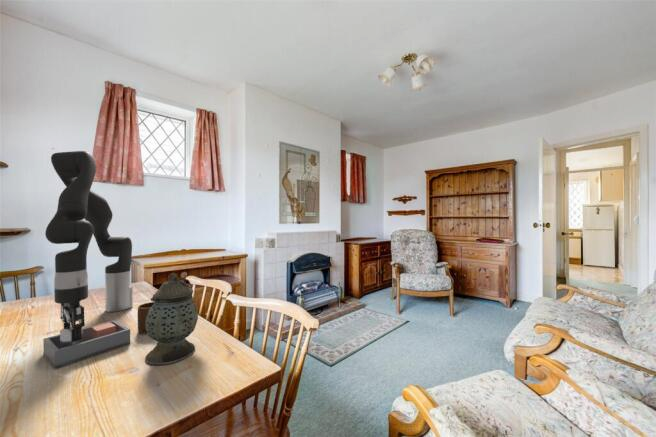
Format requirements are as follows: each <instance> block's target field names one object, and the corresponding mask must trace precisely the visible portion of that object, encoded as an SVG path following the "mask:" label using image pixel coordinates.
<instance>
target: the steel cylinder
mask: <svg viewBox="0 0 656 437" xmlns="http://www.w3.org/2000/svg"><path fill="white" fill-rule="evenodd" d="M59 335H60V349H61V348H65V347H68V346H71V345H75V344H78V343H82V339H81V340H78V341H75V342H72V341H71V327H67V328H64V327H63V328H62V329H60V330H59Z"/></svg>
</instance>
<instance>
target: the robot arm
mask: <svg viewBox="0 0 656 437" xmlns="http://www.w3.org/2000/svg"><path fill="white" fill-rule="evenodd" d="M50 163H51V165H52V167H53V169H54V171H55V173H56V174H57V176H58V177H59V179H60V180H61V181H62V183H63V184H64V186H65V188H64V189H63V190H62V191H61V193H60V195H59V198H58V203H57V209H56V212H55V214H54V216H53V217H52V219H51V220H50V222H48V225H47V226H46V228H45V238H46V240H48V242H49V243H51V244H56V245H62V244H78V245H77V246H76V247H75V248H73V249H69V250H65V251H61V252H57V253H56V255H55V257H54V267H55V268H54V272H55V273H54V278H53V279H54V280H53V282H54V284H53V286H54V287H53V288H54V291H53V292H54V303H55V304H59V305H60V320H61V322H62V323H63V329H64V328H67V327H71V341H72V342H75V341H78V340H81V339H82V329H83V328H84V327H85V326H86V323H85V307H84V306H83V305H82V304H81V303H80V302H81V301H83V300H86V299H88V297H89V275H88V272H87V271H88V269H87V265H88V264H87V255H88V250H89V245H90V242H91V240H92V237H93V236H94V239H95V242H96V245H97V248H98V249H99V251H100V253H101V254H102V255H103V257H106V258H117V257H118V259H117V261H116V262H114V263H112V264H108V265H106V266H105V268H104V270H105V271H104V273H105V274H104V278H105V282H104V285H105V286H104V287H105V288H104V289H105V291H104V292H105V293H104V294H105V299H104V300H105V311H106V312H107V313H109V312H110V313H111V312H114V313H115V312H120V311H123V310H127V309H130V308H133V299H134V298H133V296H134V295H133V286H131V282H132V281H131V279H132V278H131V266H132V256H133V255H132V252H133V242H132V240H131V238H130V237H129V236H111V235H110V233H109V231H108V229H109V226H110V224H111V222H112V219H113V211H112V208H111V206H110V205H109V202H108V200H106V198H104V197H103V196H101V195H100V194H99V193H97V192H95V191H94V190H92V189H91V188H92V186H93V183H94V179H95V177H96V172H97V164H96V161H95V158H94V156H93V155H92V154H91V153H90V152H88V151H86V150H75V151H60V152H55V153H53V154H51V156H50ZM77 322H78V323H77Z"/></svg>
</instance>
